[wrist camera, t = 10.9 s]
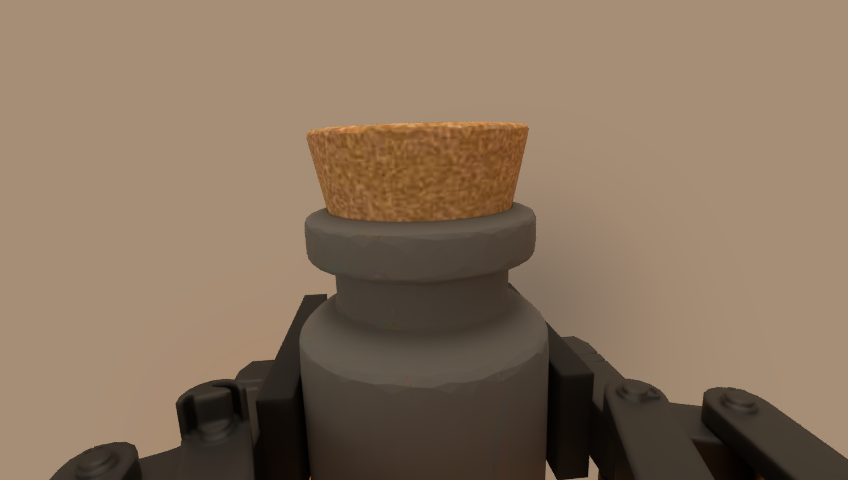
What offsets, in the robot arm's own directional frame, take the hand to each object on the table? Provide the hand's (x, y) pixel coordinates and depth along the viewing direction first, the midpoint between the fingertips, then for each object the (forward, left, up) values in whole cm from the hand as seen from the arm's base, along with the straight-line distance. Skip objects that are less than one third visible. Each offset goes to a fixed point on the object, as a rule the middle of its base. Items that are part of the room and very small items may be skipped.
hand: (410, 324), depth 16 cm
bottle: (+3, -4, -8) cm, 10 cm away
